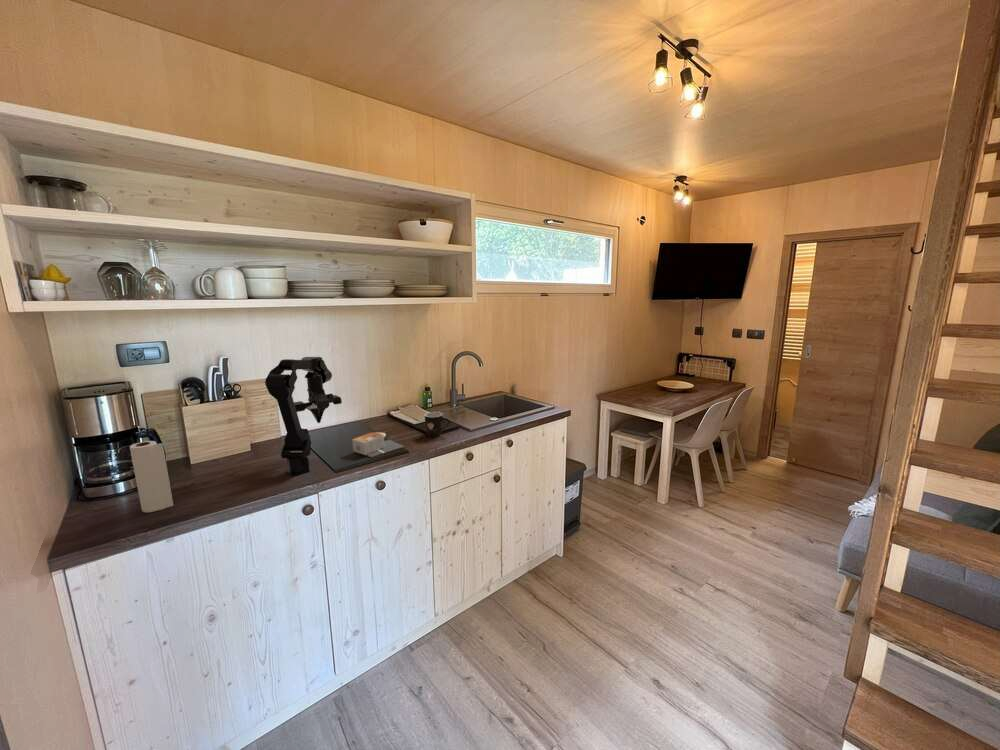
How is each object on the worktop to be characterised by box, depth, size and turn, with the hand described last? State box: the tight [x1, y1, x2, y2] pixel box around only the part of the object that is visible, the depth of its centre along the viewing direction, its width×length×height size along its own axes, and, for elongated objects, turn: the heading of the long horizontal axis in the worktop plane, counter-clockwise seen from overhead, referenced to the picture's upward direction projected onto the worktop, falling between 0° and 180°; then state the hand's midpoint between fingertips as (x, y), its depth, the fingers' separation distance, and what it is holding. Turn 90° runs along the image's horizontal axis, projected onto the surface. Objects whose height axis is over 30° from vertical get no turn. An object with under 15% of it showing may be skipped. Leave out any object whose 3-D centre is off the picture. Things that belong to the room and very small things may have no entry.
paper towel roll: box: [129, 440, 174, 513], centre depth 123 cm, size 7×6×21 cm
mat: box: [365, 439, 405, 459], centre depth 173 cm, size 16×12×1 cm
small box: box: [351, 432, 385, 456], centre depth 171 cm, size 8×6×10 cm
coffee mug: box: [423, 411, 450, 438], centre depth 190 cm, size 12×9×10 cm
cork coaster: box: [374, 431, 387, 438], centre depth 189 cm, size 9×9×1 cm
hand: (318, 422), depth 168 cm, fingers closed
